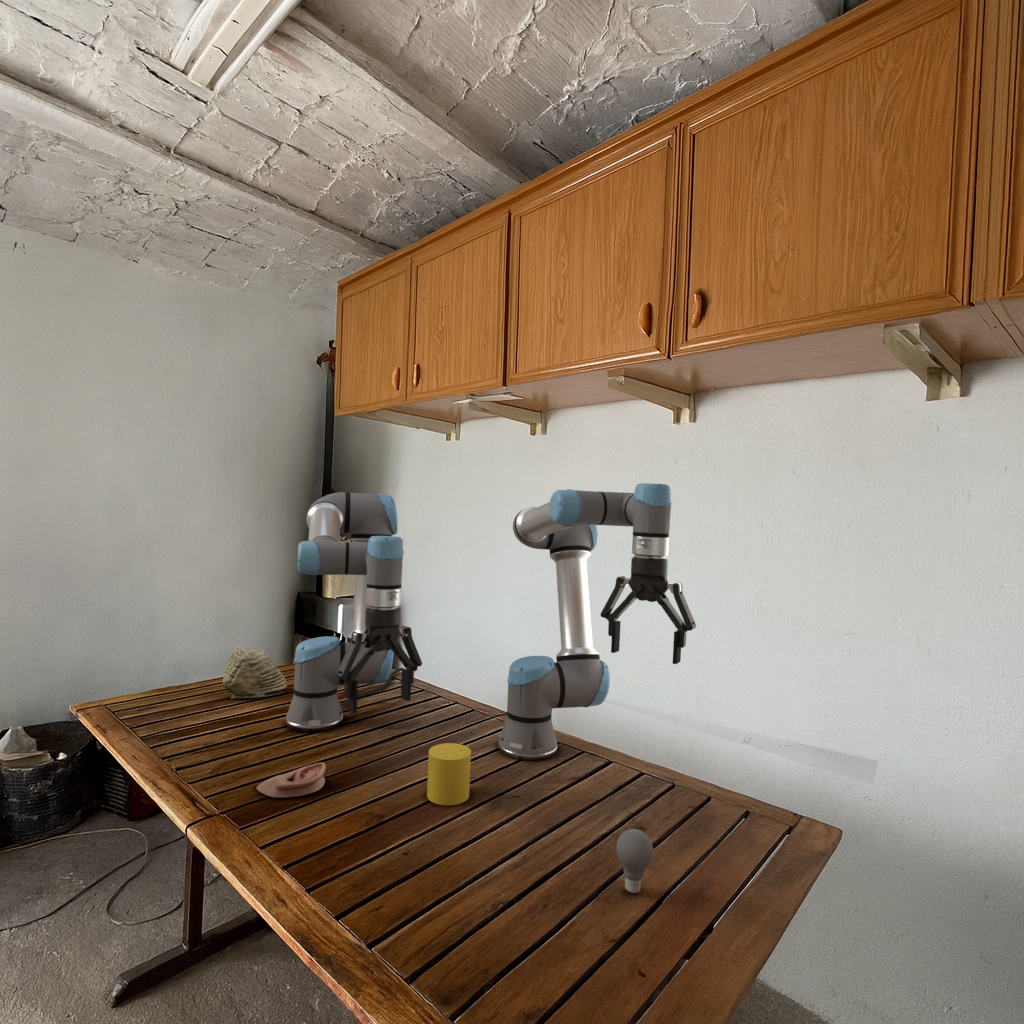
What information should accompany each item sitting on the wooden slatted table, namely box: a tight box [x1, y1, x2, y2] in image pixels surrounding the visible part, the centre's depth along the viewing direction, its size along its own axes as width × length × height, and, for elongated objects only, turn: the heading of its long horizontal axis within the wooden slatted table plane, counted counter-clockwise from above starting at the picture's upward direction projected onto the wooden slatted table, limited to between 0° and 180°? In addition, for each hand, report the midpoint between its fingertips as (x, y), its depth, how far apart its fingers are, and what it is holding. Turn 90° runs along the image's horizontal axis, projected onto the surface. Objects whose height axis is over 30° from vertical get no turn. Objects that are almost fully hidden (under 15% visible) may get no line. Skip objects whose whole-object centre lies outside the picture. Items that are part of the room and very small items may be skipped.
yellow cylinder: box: [426, 742, 472, 806], centre depth 137 cm, size 9×9×10 cm
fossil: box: [222, 646, 288, 699], centre depth 198 cm, size 9×18×15 cm, turn 132°
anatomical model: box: [256, 762, 327, 799], centre depth 137 cm, size 13×4×12 cm
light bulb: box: [615, 828, 654, 894], centre depth 106 cm, size 6×6×10 cm
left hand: (379, 705), depth 137 cm, fingers open, 13 cm apart
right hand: (644, 657), depth 134 cm, fingers open, 13 cm apart
